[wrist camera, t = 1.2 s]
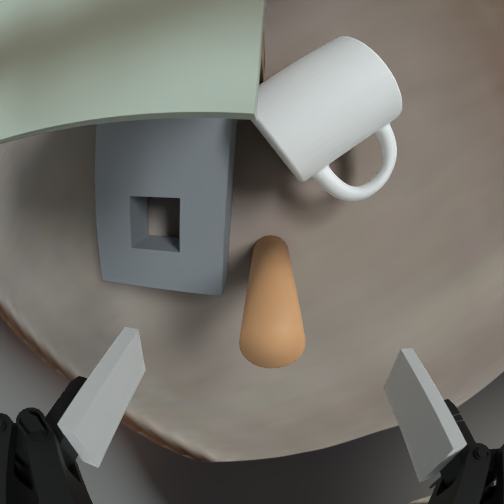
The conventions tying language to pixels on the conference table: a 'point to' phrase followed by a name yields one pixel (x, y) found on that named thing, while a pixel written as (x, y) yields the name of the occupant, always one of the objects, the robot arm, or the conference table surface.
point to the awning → (127, 62)
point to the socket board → (171, 186)
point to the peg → (271, 308)
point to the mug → (331, 113)
